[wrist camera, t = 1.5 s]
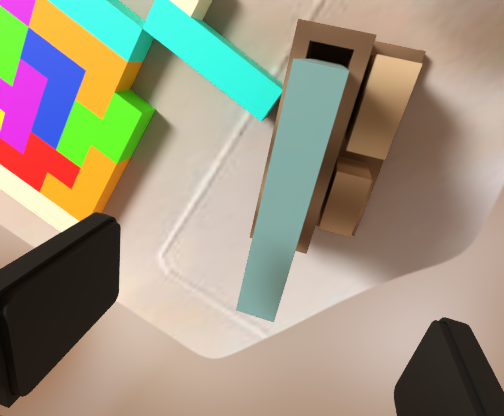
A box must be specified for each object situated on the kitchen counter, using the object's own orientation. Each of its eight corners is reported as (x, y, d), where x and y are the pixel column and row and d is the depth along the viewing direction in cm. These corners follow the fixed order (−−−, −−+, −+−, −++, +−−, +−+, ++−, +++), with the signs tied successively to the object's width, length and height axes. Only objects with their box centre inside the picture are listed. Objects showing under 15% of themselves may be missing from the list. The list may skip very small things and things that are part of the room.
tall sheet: (316, 59, 26) (293, 58, 12) (341, 64, 26) (349, 70, 11) (281, 195, 31) (236, 310, 17) (301, 201, 31) (273, 322, 17)
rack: (306, 27, 26) (298, 18, 20) (422, 51, 25) (448, 49, 19) (264, 206, 33) (249, 237, 27) (353, 230, 32) (357, 268, 26)
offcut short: (336, 155, 29) (337, 171, 25) (367, 163, 28) (372, 180, 24) (320, 206, 31) (318, 228, 27) (348, 214, 30) (350, 237, 26)
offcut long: (368, 55, 25) (378, 54, 20) (403, 62, 25) (422, 63, 19) (344, 132, 28) (346, 150, 22) (375, 140, 27) (385, 160, 22)
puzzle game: (-55, 124, 39) (154, 274, 41) (-84, 129, 36) (141, 289, 38) (1, -194, 25) (310, 56, 27) (-38, -223, 22) (307, 56, 25)
